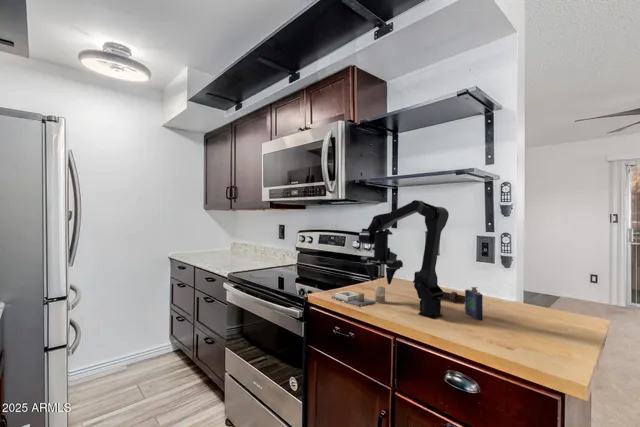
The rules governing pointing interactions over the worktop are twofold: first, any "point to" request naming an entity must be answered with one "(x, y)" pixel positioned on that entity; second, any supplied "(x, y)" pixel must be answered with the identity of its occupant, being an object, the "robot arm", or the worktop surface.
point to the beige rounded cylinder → (379, 294)
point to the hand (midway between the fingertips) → (380, 282)
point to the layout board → (352, 298)
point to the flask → (473, 304)
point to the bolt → (453, 297)
